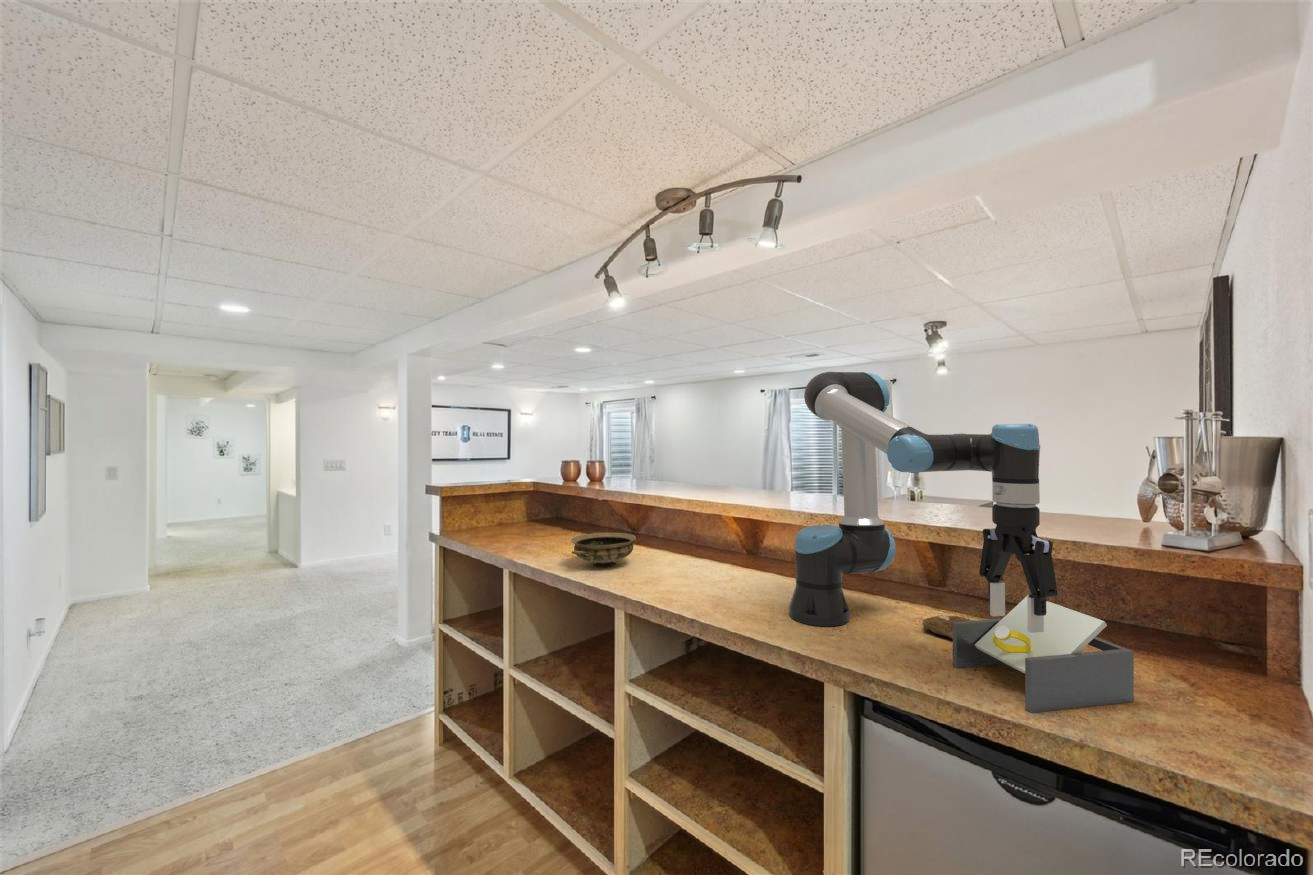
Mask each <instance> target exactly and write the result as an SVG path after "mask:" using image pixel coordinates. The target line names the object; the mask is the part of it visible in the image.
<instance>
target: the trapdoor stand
mask: <svg viewBox="0 0 1313 875" xmlns="http://www.w3.org/2000/svg"><path fill="white" fill-rule="evenodd" d="M1003 618H1004V617H1002V618H992V619H991V618H989V619H977V620H975V619H974V620H973V621H962V622H953V638H952V666H953V667H955V668H956V669H961V668H970V667H973V668H974V667H981V666H982V667H983V666H992V665H1002V664H1003V665H1006V663H1004V662H1002V661H1000V660H998V659H996V658H994V657H992V656H990V655H988V654H987V653H985V652H983V651H981V650H979V649H977V648H976V646H975V644H976V643H977V642H978V641H979V640H980V639H981V638H982V637H983V636H984V635H985V634H986V633H988V632H989V631H990V630H991V629H992V628H993V627H994V626H995V625H996V624H997V623H998V622H999V621H1001V620H1002V619H1003ZM1087 645H1088V646H1091V647H1093V648H1095V649H1098V650H1099V651H1097V650H1096V651H1088V652H1087V651H1086V652H1079V653H1074V654H1063V655H1052V656H1041V657H1030V658H1025V673H1024V678H1025V679H1024V680H1025V683H1024V692H1025V693H1024V694H1025V695H1024V696H1025V697H1024V698H1025V699H1024V700H1025V701H1024V702H1025V703H1024V704H1025V705H1024V706H1025V710H1026V711H1028V712H1029V713H1032V714H1033V713H1040V712H1041V713H1043V712H1051V711H1059V710H1068V709H1069V710H1070V709H1077V708H1086V707H1087V708H1088V707H1095V706H1097V707H1098V706H1104V705H1105V706H1106V705H1107V706H1108V705H1115V704H1124V703H1132V702H1134V698H1135V697H1134V695H1135V694H1134V691H1135V690H1134V688H1135V687H1134V681H1135V680H1134V678H1135V676H1134V674H1135V673H1134V668H1135V666H1134V665H1135V664H1134V662H1135V661H1134V658H1135V657H1134V652H1135V651H1133V650H1131V649H1129V648H1126V647H1123V646H1121V645H1118V644H1116V643H1112V642H1110V641H1109V640H1106V639H1102V638H1100V637H1098V636H1096V637H1095V638H1093V639H1092V640H1091V641H1090V642H1089V643H1088V644H1087Z"/></svg>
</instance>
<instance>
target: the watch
mask: <svg viewBox="0 0 1313 875" xmlns="http://www.w3.org/2000/svg"><path fill="white" fill-rule="evenodd" d="M1010 637H1011V638H1016V639H1019V640H1021V641H1023V642H1025V643H1026V644H1027V645H1026V646H1011V645H1007V644H1004V643H1002V642H1001V641H999V640H1003V641H1004V640H1007V639H1009V638H1010ZM997 638H998V639H999V640H998V639H997ZM993 643H994V644H995V645H996V646H997V647H998V648H1000V649H1002V650H1004V651H1007V652H1010V653H1027V652H1029V651H1030V650H1031V640H1030V639H1029V638H1028V637H1027V636H1025V635H1024V634H1022V633H1020V632H1017V631H1013V630H1010V629H1009V628H1008V627H1006V626H999V627H998V628H996V630H995V632H994V634H993Z"/></svg>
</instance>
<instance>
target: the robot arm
mask: <svg viewBox="0 0 1313 875" xmlns="http://www.w3.org/2000/svg"><path fill="white" fill-rule="evenodd" d="M803 394H804V395H803V397H804V402H805V405H806V407H807V409H808V410H809V411H810V412H811V413H812V414H813V415H815V416H817V417H818V418H820V419H821V420H823V421H832V422H834V423H835V424H836V425H837V426H838V427H839V428H840V429H841V430H840V432H841V457H842V458H841V459H842V461H841V462H842V480H843V481H842V482H843V483H842V484H843V486H842V488H843V489H842V490H843V508H844V509H843V511H844V512H843V513H844V514H843V517H842V518H841V519H840V520H839V521H838V526H837V525H832V524H821V525H820V524H816V525H811V526H806V527H803V528H801V529H800V530H798V531H797V533H796V535H795V544H794V549H795V588H794V590H793V594H792V596H791V600H790V603H789V607H788V608H789V612H788V613H789V614H788V615H789V617H791V619H793V620H795V621H796V622H799V623H801V624H805V625H810V626H814V627H815V626H816V627H817V626H818V627H836V626H841V625H844V624H847V623H848V622H849V621H850V608H849V605H848V603H847V599H846V596H845V594H844V590H843V576H845V575H855V574H863V573H868V574H872V573H875V572H878V571H883V570H885V569H887V568H888V567H889V566H890V565H891V564H892V563H893V561H894V559H895V555H896V548H897V547H896V541H895V539H894V537H893V536H892V532H890V531H889V530H888V529H887V528H885V524H886V523H885V521H883V520H882V519H881V517H879V507H878V506H879V503H878V502H879V501H878V478H877V453H876V452H877V451H876V449H878V450H880V451H881V452H882V453H884V454H886V455H887V456H886V458H887V461H888V463H890V465H891V467H892V469H894V470H895V471H898V472H900V473H909V474H919V473H920V474H921V473H929V472H932V473H933V472H954V471H955V472H957V471H973V472H974V471H978V472H991V481H992V490H991V491H992V493H991V494H992V495H991V496H992V501H993V502H994V503H995V504H993V505H992V507H991V509H992V513H991V514H992V515H991V517H992V518H991V519H992V520H991V521H992V523H993V524H995V527H994V528H992V527H991V528H983V529H982V536H983V544H982V550H981V557H980V564H979V575H980V576H981V577H984V578H985V579H986V581H987V582H988V583H987V584H988V586H987V588H988V590H987V591H988V592H987V593H988V597H989V604H990V605H989V614H990V615H989V616H991V617H1005V616H1006V583H1005V582H1004V581H1005V579H1004V578H1003V577H1004V574H1005V572H1006V569H1007V567H1008V564H1009V561H1010V559H1011V557H1012V555H1013V554H1014V555H1015V558H1016V559H1017V560H1018V561H1019V562H1020V565H1021V568H1022V571H1023V574H1024V576H1025V579H1026V582H1027V586H1028V588H1029V591H1030V594H1027V595H1026V596H1027V631H1028V632H1030V633H1035V632H1044V615H1046V601H1047V598H1053V597H1057V596H1058V594H1059V593H1058V587H1057V580H1056V575H1055V574H1056V573H1055V566H1054V562H1053V561H1054V560H1053V557H1052V556H1053V555H1052V552H1053V547H1054V543H1053V541H1052V540H1044V539H1041V538H1039V536H1038V534H1037V528H1038V527H1039V526H1040V524H1041V523H1040V520H1041V519H1040V512H1041V511H1040V510H1041V509H1040V508H1039V507H1038V506H1036V505H1040V502H1041V500H1040V499H1041V498H1040V497H1041V496H1040V474H1039V473H1040V453H1041V452H1040V451H1041V444H1040V435H1039V434H1040V433H1039V428H1038V427H1037V425H1035V424H1033V423H1001V424H1000V423H999V424H998V423H997V424H996V423H995V424H994V425H992V428H991V433H989V434H985V433H983V434H980V433H979V434H977V433H972V434H971V433H952V434H951V433H950V434H928V433H924V432H922V431H920V430H918V429H916V428H915V427H913V426H912V425H908V424H906V422H903V421H901V420H899V419H898V418H895V417H894V416H892V415H890V414H888V413H886V410H887V408H888V406H889V405H890V398H891V396H890V390H889V387H888V385H887V383H886V382H885V380H884V379H882V376H879V375H878V374H875V373H871V372H870V373H869V372H864V371H862V372H861V371H859V372H858V371H854V372H853V371H851V372H850V371H825V372H821V373H819V374H817V375H815V376H814V377H812V378H811V379H810V380H809V382H807V384H806V386H805V390H804V393H803Z"/></svg>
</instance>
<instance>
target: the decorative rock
mask: <svg viewBox="0 0 1313 875" xmlns="http://www.w3.org/2000/svg"><path fill="white" fill-rule="evenodd" d="M962 621H974V619H970V618H966V617H961V616H959V615H937V616H932V617H926V618H925V619H923V621H922V626H923V628H924V629H926V630H927V631H931V632H932V633H934V634H935V635H940V636H942V637H948V638H949V639H950V640H953V622H962Z"/></svg>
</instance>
